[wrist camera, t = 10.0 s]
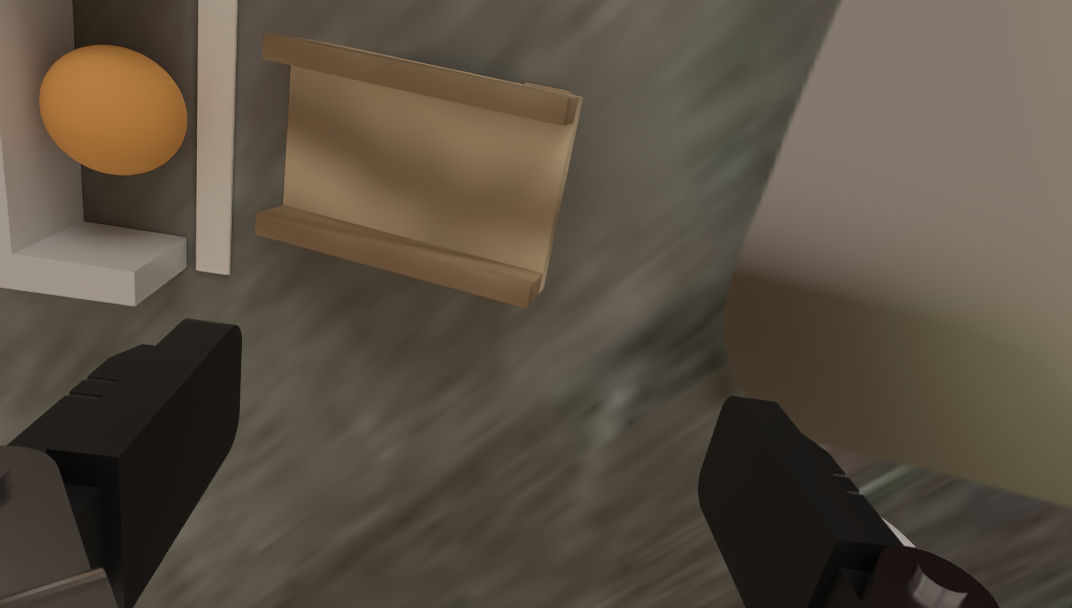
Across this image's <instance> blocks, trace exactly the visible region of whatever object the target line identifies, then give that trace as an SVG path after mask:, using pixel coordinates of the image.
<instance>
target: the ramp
mask: <svg viewBox="0 0 1072 608" xmlns="http://www.w3.org/2000/svg"><path fill="white" fill-rule="evenodd" d="M262 59H264V60H268V61H273V62H277V63H282V64H286V65H290V66H291V72H290V90H289V108H288V126H287V144H286V161H285V179H284V197H283V205H282V206H278V207H274V208H271V209H267V210H263V211H260V212H256V220H255V235H259V236H262V237H266V238H270V239H273V240H277V241H280V242H284V243H288V244H291V245H295V246H299V247H302V248H306V249H310V250H313V251H317V252H321V253H324V254H328V255H332V256H335V257H339V258H343V259H346V260H350V261H354V262H357V263H361V264H365V265H368V266H372V267H375V268H379V269H383V270H386V271H390V272H394V273H397V274H401V275H405V276H408V277H412V278H416V279H419V280H423V281H427V282H430V283H434V284H438V285H441V286H445V287H449V288H452V289H456V290H460V291H463V292H467V293H470V294H474V295H478V296H481V297H485V298H489V299H492V300H496V301H500V302H503V303H507V304H511V305H514V306H518V307H522V308H525V309H527V308H528V306H529V305H530V304H531V303H532V302H533V300H534V299H535V298H536V297H537V296H538V294H539V293H540V292H541V291H542V290H543V288H544V284H545V279H546V274H547V269H548V265H549V260H550V255H551V250H552V245H553V240H554V236H555V231H556V226H557V221H558V216H559V211H560V207H561V202H562V197H563V192H564V187H565V182H566V178H567V173H568V168H569V163H570V158H571V153H572V148H573V144H574V139H575V134H576V129H577V124H578V119H579V115H580V110H581V105H582V100H583V97H579V96H575V95H574V94H572V93H570V92H569V91H567V90H562V89H557V88H552V87H547V86H542V85H537V84H532V83H527V82H523V84H519V83H514V82H509V81H505V80H500V79H495V78H491V77H486V76H481V75H477V74H472V73H467V72H463V71H458V70H453V69H449V68H444V67H439V66H435V65H430V64H425V63H421V62H416V61H411V60H407V59H402V58H397V57H393V56H388V55H383V54H379V53H374V52H369V51H365V50H360V49H355V48H350V47H345V46H339V45H334V44H329V43H324V42H319V41H314V40H309V39H304V38H299V37H294V36H286V35H277V34H269V33H263V52H262Z"/></svg>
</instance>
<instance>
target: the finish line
mask: <svg viewBox="0 0 1072 608" xmlns="http://www.w3.org/2000/svg"><path fill="white" fill-rule="evenodd" d="M237 24H238V0H198V99H197V207H196V270H197V271H203V272H210V273H217V274H224V275H230V269H231V234H232V199H233V164H234V129H235V94H236V59H237Z"/></svg>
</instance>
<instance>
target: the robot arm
mask: <svg viewBox="0 0 1072 608" xmlns="http://www.w3.org/2000/svg"><path fill="white" fill-rule="evenodd" d="M241 354H242V335H241V330H240V328H239V326H237V325H231V324H224V323H217V322H210V321H203V320H196V319H188V318H187V319H184V320H183V321H182V322H181V323H180V324H178V325H177V326H176V327H175V328H174V329H173V330H172V331H171V332H170V333H169V334H168V335H167V336H166V337H165V338H164V339H162V340H161V341H160V342H159V343H158V344H157V345H156V346H153V345H145V344H142V345H139V346H137V347H134V348H132V349H130V350H127V351H125V352H122V353H120V354H117V355H115V356H113V357H110V358H109V359H107V360H106V361H105V362H104V363H103V364H102V365H100V366H99V367H98V368H97V369H96V370H95V371H93V372H92V373H91V374H90V375H89V376H88V379H87V380H83V381H82V382H80V383H79V384H78V385H77V386H76V387H75V388H73V389H72V390H71V391H70V393H69V396H64V397H63V398H62V399H61V400H59V401H58V402H57V403H56V404H55V405H53V406H52V407H51V408H50V409H49V410H48V411H46V412H45V413H44V414H43V415H42V416H41V417H39V418H38V419H37V420H36V421H35V422H34V423H32V424H31V425H30V426H29V427H28V428H27V429H25V430H24V431H23V432H22V433H21V434H19V435H18V436H17V437H16V438H15V439H14V440H12V441H11V442H10V443H9V444H8V445H7V446H0V608H133V607H134V605H135V603H136V602H137V600H138V598H139V597H140V595H141V594H142V592H143V590H144V589H145V587H146V586H147V584H148V582H149V581H150V579H151V577H152V576H153V574H154V573H155V571H156V569H157V568H158V566H159V565H160V563H161V561H162V560H163V558H164V557H165V555H166V553H167V552H168V550H169V548H170V547H171V545H172V544H173V542H174V540H175V539H176V537H177V536H178V534H179V532H180V531H181V529H182V527H183V526H184V524H185V523H186V521H187V519H188V518H189V516H190V515H191V513H192V511H193V510H194V508H195V506H196V505H197V503H198V502H199V500H200V498H201V497H202V495H203V494H204V492H205V490H206V489H207V487H208V486H209V484H210V482H211V481H212V479H213V477H214V476H215V474H216V473H217V471H218V469H219V468H220V466H221V465H222V463H223V461H224V460H225V458H226V456H227V455H228V453H229V451H230V449H231V447H232V444H233V442H234V439H235V435H236V431H237V427H238V421H239V411H240V383H241ZM698 495H699V503H700V507H701V509H702V512H703V514H704V516H705V518H706V521H707V523H708V525H709V527H710V530H711V532H712V534H713V536H714V538H715V541H716V543H717V545H718V547H719V549H720V552H721V554H722V556H723V558H724V561H725V563H726V565H727V567H728V569H729V572H730V574H731V576H732V578H733V580H734V583H735V585H736V587H737V589H738V592H739V594H740V596H741V598H742V600H743V603H744V605H745V607H746V608H1000V607H999V605H998V603H997V601H996V600H995V598H994V597H993V596H992V594H991V593H990V592H989V591H988V590H987V589H986V588H985V587H984V586H983V585H982V584H981V583H980V582H979V581H978V580H977V579H975V578H974V577H973V576H972V575H970V574H969V573H968V572H966V571H965V570H963V569H962V568H960V567H959V566H957V565H955V564H954V563H952V562H950V561H948V560H946V559H944V558H942V557H940V556H938V555H936V554H933V553H931V552H928V551H925V550H922V549H919V548H915V547H909V546H904V545H903V544H902V542H901V541H900V540H899V539H898V537H897V536H896V535H895V534H894V533H893V531H892V530H891V529H890V528H889V526H888V525H887V524H886V523H885V522H884V520H883V519H882V518H881V517H880V515H879V514H878V513H877V512H876V511H875V509H874V508H873V507H872V506H871V504H870V503H869V502H868V501H867V500H866V498H865V497H864V496H863V495H859V490H858V488H857V487H856V486H855V485H854V484H853V482H852V481H851V480H850V479H849V478H847V477H845V473H844V471H843V470H842V469H841V468H840V466H839V465H838V464H837V463H836V462H835V460H834V459H833V458H832V457H831V455H830V454H829V453H828V452H827V451H825V450H824V449H823V448H821V447H820V446H819V445H817V444H816V443H814V442H813V441H812V440H810V439H809V438H808V437H806V436H805V435H804V434H802V433H801V432H800V431H799V430H798V428H797V427H796V426H795V425H794V424H793V422H792V421H791V420H790V418H789V417H788V416H787V414H786V413H785V412H784V411H783V409H782V408H781V407H780V406H779V405H778V404H777V403H776V402H774V401H767V400H760V399H753V398H746V397H739V396H730V397H729V398H728V399H727V400H726V401H725V402H724V404H723V406H722V409H721V411H720V414H719V417H718V420H717V423H716V426H715V429H714V432H713V435H712V438H711V441H710V444H709V447H708V450H707V453H706V456H705V459H704V462H703V465H702V468H701V472H700V476H699V484H698ZM1071 608H1072V607H1071Z"/></svg>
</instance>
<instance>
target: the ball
mask: <svg viewBox="0 0 1072 608" xmlns="http://www.w3.org/2000/svg"><path fill="white" fill-rule="evenodd" d="M39 107H40V113H41V117H42V120H43V123H44V125H45V127H46V129H47V131H48V133H49V135H50V136H51V138H52V139H53V140H54V142H55V143H56V144H57V145H58V146H59V147H60V149H61V150H63V151H64V152H65V153H66V154H67V155H68V156H70V157H71V158H72V159H74V160H75V161H77V162H79V163H80V164H82V165H84V166H86V167H88V168H91V169H93V170H96V171H99V172H103V173H107V174H114V175H135V174H141V173H145V172H148V171H151V170H154V169H155V168H157V167H159V166H161V165H163V164H164V163H166V162H167V161H168V160H169V159H170V158H171V157H172V156H173V155H174V154H175V153H176V152H177V151H178V149H179V148H180V146H181V144H182V142H183V140H184V137H185V134H186V130H187V110H186V105H185V102H184V99H183V96H182V94H181V92H180V90H179V88H178V86H177V84H176V83H175V82H174V80H173V79H172V78H171V77H170V75H169V74H168V73H167V72H166V71H165V70H164V69H163V68H162V67H161V66H160V65H158V64H157V63H155V62H154V61H153V60H151V59H150V58H148V57H146V56H144V55H143V54H140V53H138V52H136V51H133V50H130V49H128V48H124V47H119V46H113V45H91V46H86V47H82V48H78V49H76V50H73V51H71V52H69V53H67V54H65V55H64V56H62V57H61V58H60V59H59V60H57V61H56V62H55V63H54V64H53V65H52V66H51V67H50V69H49V70H48V72H47V73H46V75H45V77H44V79H43V81H42V84H41V88H40V94H39Z"/></svg>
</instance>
